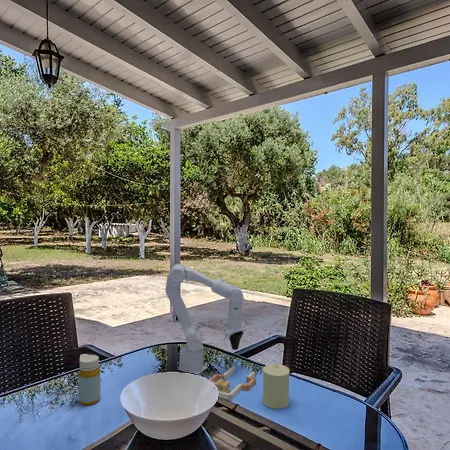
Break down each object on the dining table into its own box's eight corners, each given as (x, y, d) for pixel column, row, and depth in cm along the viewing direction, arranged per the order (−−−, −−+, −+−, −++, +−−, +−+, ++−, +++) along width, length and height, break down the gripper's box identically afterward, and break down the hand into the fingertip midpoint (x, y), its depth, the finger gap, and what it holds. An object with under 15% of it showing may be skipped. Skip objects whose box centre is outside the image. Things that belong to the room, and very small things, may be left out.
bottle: (104, 398, 131) (104, 356, 130) (89, 408, 124) (89, 364, 123) (89, 393, 134) (89, 352, 133) (74, 403, 127) (73, 360, 126)
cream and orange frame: (200, 391, 136) (200, 386, 136) (227, 369, 154) (227, 365, 154) (236, 402, 129) (236, 397, 129) (260, 378, 147) (260, 373, 146)
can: (288, 395, 134) (288, 363, 133) (290, 409, 125) (290, 375, 124) (262, 394, 135) (262, 361, 134) (262, 408, 125) (263, 373, 125)
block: (214, 394, 134) (214, 383, 134) (220, 389, 138) (220, 378, 138) (224, 397, 132) (224, 386, 132) (229, 392, 136) (229, 381, 136)
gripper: (235, 323, 145) (235, 357, 146) (251, 313, 157) (251, 345, 158) (220, 320, 148) (219, 353, 149) (236, 311, 161) (236, 341, 162)
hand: (235, 349), depth 154 cm, fingers closed
